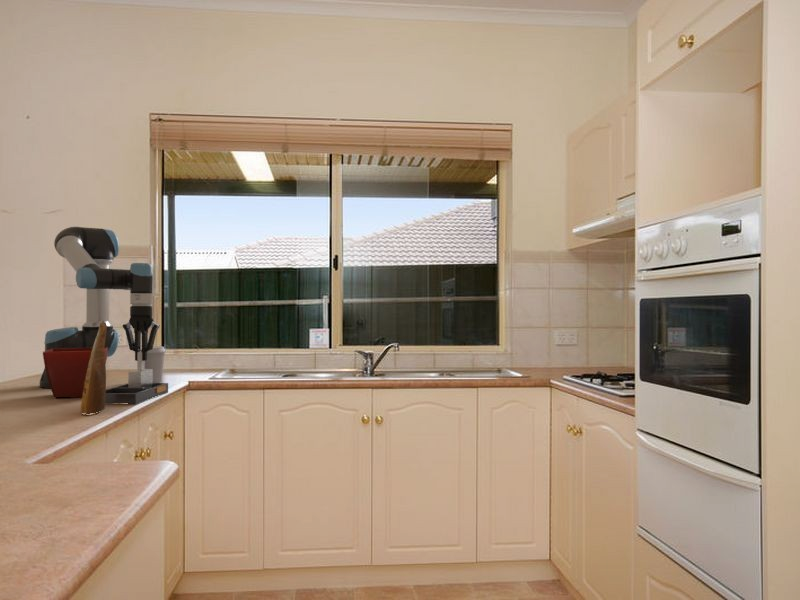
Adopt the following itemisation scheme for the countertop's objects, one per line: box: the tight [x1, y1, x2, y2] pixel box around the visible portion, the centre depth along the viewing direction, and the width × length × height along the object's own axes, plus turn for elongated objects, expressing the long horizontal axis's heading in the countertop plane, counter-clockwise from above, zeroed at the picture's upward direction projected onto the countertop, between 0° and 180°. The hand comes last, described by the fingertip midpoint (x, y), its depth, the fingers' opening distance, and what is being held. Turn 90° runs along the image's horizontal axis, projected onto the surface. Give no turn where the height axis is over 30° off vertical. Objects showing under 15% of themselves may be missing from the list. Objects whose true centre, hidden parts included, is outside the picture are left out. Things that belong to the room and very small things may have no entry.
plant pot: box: [42, 347, 108, 398], centre depth 223 cm, size 19×19×17 cm
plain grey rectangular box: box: [127, 369, 153, 388], centre depth 225 cm, size 4×10×8 cm, turn 179°
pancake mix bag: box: [80, 321, 107, 414], centre depth 191 cm, size 7×19×28 cm, turn 16°
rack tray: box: [105, 382, 169, 405], centre depth 218 cm, size 15×28×4 cm, turn 179°
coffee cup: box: [145, 345, 166, 383], centre depth 260 cm, size 10×10×15 cm
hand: (140, 369), depth 225 cm, fingers closed
